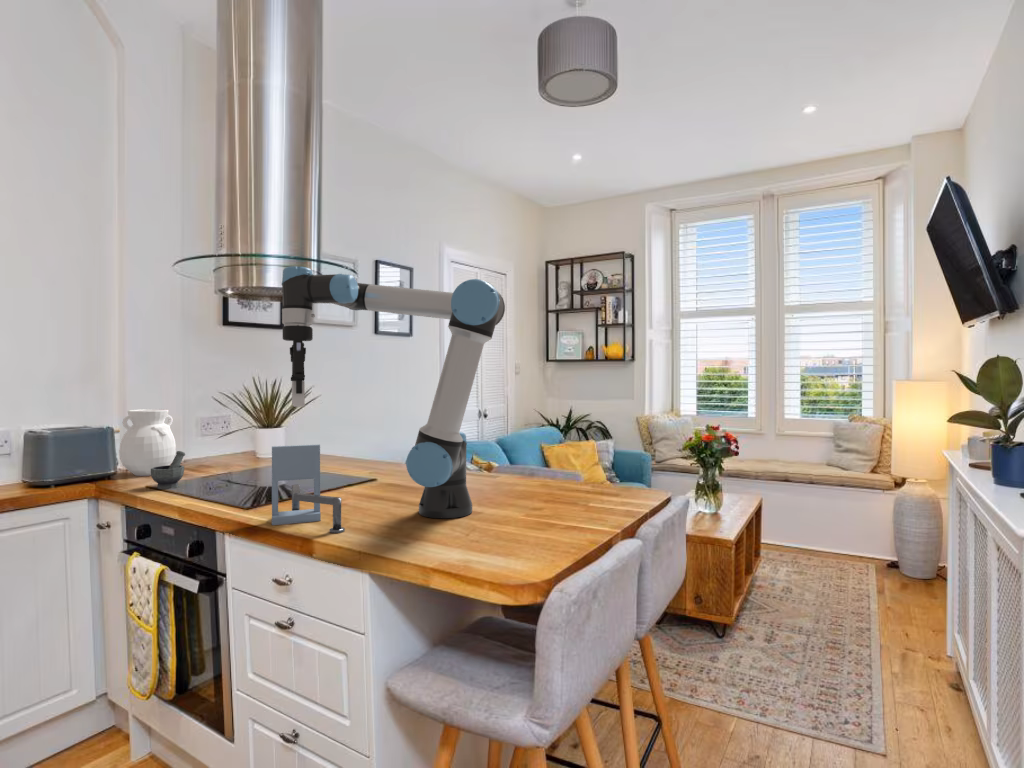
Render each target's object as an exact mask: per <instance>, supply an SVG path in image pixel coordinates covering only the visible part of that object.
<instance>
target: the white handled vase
mask: <svg viewBox="0 0 1024 768" xmlns="http://www.w3.org/2000/svg"><path fill="white" fill-rule="evenodd" d="M169 411H170V410H169V409H167V408H166V409H165V408H163V409H162V408H144V409H143V408H141V409H130V410H127V416H125V417H124V418H123V420H122V423H121V424H122V425H123V427H124V429H126V432H125V433H124V434H123V436H122V439H121V440H120V442H119V443H120V445H119V450H118V455H119V459H120V462H121V464H122V465H123V467H124V468H125V469H126V470H127V471H128V472H130V473H132V474H133V475H134V476H136V477H152V476H151V468H153V467H158V466H168V465H171V463H172V461H173V460H174V458H175V456H176V452H177V451H176V450H177V443H176V439H175V435H174V434H173V431H172V429H171V426H172V424H174V423H173V422H174V419H173V416H172V415H171V414H169ZM166 419H168V420H167V422H166V423H165V421H166ZM129 420H130V422H131V423H132V425H131V426H130V425H129V424H128V421H129Z"/></svg>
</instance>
